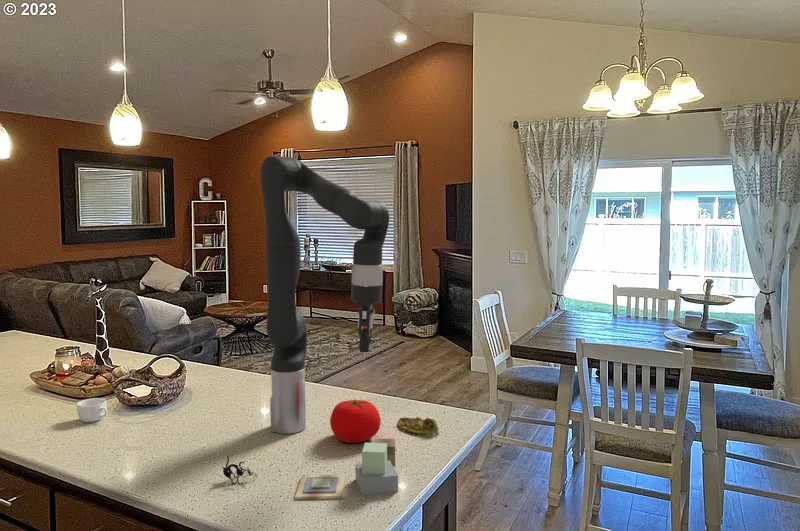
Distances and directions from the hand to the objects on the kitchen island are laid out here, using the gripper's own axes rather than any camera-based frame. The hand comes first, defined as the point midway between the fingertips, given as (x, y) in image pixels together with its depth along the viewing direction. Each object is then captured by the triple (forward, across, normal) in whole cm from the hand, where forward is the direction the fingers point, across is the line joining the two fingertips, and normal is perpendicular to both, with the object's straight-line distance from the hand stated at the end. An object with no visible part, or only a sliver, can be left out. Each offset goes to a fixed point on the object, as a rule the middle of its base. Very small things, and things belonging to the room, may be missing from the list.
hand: (365, 347), depth 145 cm
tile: (+27, +18, -8) cm, 34 cm away
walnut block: (+27, +5, +6) cm, 28 cm away
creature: (+28, +14, -27) cm, 42 cm away
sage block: (+23, +17, +4) cm, 29 cm away
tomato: (+28, -10, -3) cm, 30 cm away
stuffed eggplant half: (+27, -17, +14) cm, 35 cm away
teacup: (+30, -24, -80) cm, 89 cm away
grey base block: (+27, +17, +4) cm, 32 cm away
